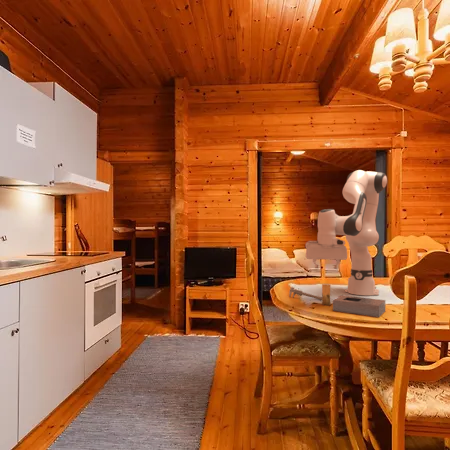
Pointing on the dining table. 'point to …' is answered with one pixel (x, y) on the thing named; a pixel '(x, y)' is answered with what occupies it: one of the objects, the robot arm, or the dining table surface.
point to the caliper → (302, 294)
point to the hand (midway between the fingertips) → (326, 268)
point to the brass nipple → (325, 294)
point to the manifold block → (359, 305)
